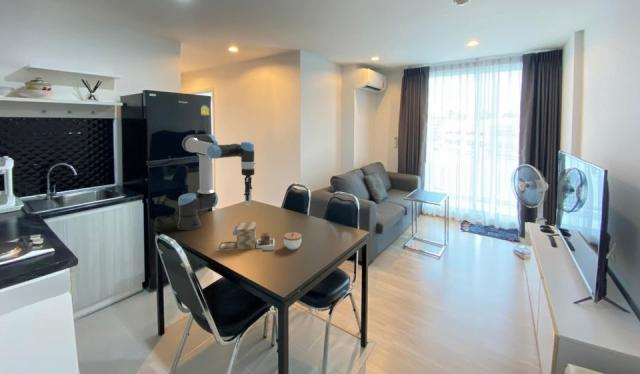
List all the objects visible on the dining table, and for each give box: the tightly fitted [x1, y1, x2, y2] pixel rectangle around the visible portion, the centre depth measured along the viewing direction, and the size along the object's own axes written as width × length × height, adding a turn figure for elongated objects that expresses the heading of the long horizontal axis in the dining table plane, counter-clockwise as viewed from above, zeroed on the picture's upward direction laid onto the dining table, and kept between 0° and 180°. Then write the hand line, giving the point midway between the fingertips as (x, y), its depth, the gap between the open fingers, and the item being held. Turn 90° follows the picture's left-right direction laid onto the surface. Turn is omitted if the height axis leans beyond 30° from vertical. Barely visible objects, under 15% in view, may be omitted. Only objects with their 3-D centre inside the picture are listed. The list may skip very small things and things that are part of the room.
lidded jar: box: [283, 232, 302, 251], centre depth 180 cm, size 11×11×9 cm
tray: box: [255, 238, 276, 251], centre depth 181 cm, size 11×11×3 cm
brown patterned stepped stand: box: [215, 221, 257, 251], centre depth 178 cm, size 22×12×14 cm, turn 99°
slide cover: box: [232, 225, 238, 236], centre depth 178 cm, size 10×10×2 cm
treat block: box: [260, 232, 271, 245], centre depth 181 cm, size 5×5×7 cm
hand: (248, 202), depth 184 cm, fingers open, 13 cm apart
